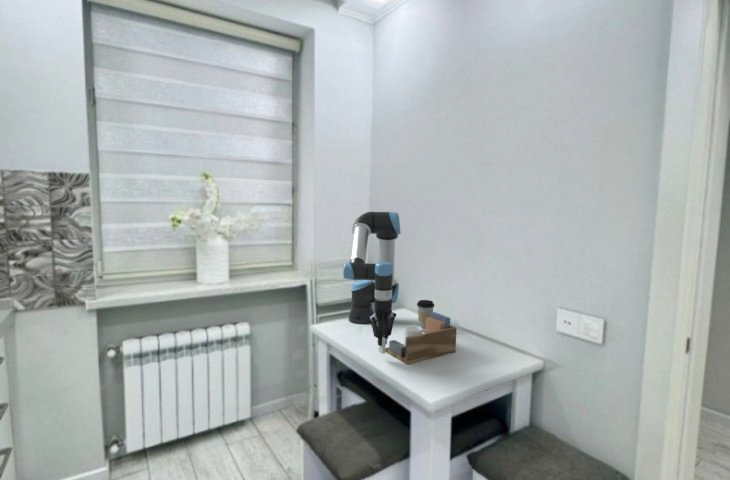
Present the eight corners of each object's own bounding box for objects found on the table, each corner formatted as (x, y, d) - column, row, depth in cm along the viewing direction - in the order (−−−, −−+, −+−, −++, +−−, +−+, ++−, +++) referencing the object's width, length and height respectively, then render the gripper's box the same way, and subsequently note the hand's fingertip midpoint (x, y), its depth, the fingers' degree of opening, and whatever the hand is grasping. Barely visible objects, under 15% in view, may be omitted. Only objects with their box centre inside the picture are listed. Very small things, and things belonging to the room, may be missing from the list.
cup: (399, 348, 178) (400, 326, 177) (421, 344, 184) (422, 323, 183) (410, 354, 171) (410, 332, 170) (432, 350, 176) (432, 328, 175)
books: (424, 342, 187) (425, 313, 185) (433, 340, 190) (434, 312, 188) (440, 349, 177) (441, 319, 176) (449, 347, 180) (450, 317, 179)
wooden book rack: (384, 351, 178) (384, 326, 177) (430, 340, 193) (431, 318, 192) (407, 364, 164) (408, 338, 163) (455, 352, 179) (456, 327, 178)
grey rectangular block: (389, 349, 176) (389, 341, 175) (394, 348, 177) (394, 340, 177) (401, 356, 168) (401, 347, 168) (406, 355, 170) (407, 346, 169)
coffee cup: (433, 326, 215) (433, 299, 214) (434, 332, 206) (435, 304, 204) (415, 325, 216) (416, 299, 215) (416, 331, 207) (417, 303, 205)
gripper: (375, 302, 159) (374, 358, 162) (400, 298, 166) (399, 352, 168) (365, 298, 166) (364, 352, 168) (390, 295, 172) (389, 346, 175)
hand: (382, 352), depth 168 cm, fingers closed
